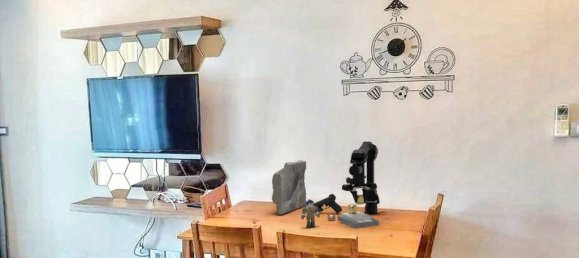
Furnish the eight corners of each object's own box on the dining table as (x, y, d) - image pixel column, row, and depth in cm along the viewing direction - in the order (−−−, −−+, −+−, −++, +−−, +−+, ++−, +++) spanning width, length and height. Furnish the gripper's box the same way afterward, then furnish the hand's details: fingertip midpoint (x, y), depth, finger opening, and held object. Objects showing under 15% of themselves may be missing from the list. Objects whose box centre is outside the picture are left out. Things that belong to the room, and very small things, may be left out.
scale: (361, 217, 264) (361, 210, 264) (378, 225, 246) (378, 217, 246) (337, 220, 259) (337, 213, 258) (353, 228, 241) (353, 220, 241)
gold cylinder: (361, 202, 252) (361, 194, 252) (365, 203, 248) (365, 195, 248) (354, 203, 250) (354, 194, 250) (358, 204, 246) (358, 196, 246)
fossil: (284, 216, 271) (283, 165, 269) (270, 215, 275) (269, 165, 273) (308, 205, 301) (307, 159, 300) (296, 204, 305) (295, 159, 304)
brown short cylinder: (333, 219, 262) (333, 213, 262) (336, 220, 258) (336, 215, 257) (326, 220, 260) (326, 214, 260) (329, 221, 256) (329, 216, 256)
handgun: (342, 211, 273) (334, 193, 274) (317, 222, 277) (308, 204, 277) (343, 210, 275) (334, 192, 276) (317, 222, 279) (308, 203, 279)
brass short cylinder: (354, 212, 260) (354, 204, 260) (358, 213, 256) (357, 205, 256) (347, 212, 259) (347, 204, 259) (350, 214, 255) (350, 206, 254)
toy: (303, 229, 241) (303, 200, 240) (300, 227, 245) (299, 199, 244) (321, 226, 245) (320, 198, 244) (317, 225, 249) (317, 197, 248)
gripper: (367, 170, 259) (367, 198, 260) (337, 173, 253) (337, 201, 253) (377, 173, 249) (377, 202, 249) (346, 175, 242) (346, 205, 243)
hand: (359, 202), depth 249 cm, fingers closed on gold cylinder, 4 cm apart
